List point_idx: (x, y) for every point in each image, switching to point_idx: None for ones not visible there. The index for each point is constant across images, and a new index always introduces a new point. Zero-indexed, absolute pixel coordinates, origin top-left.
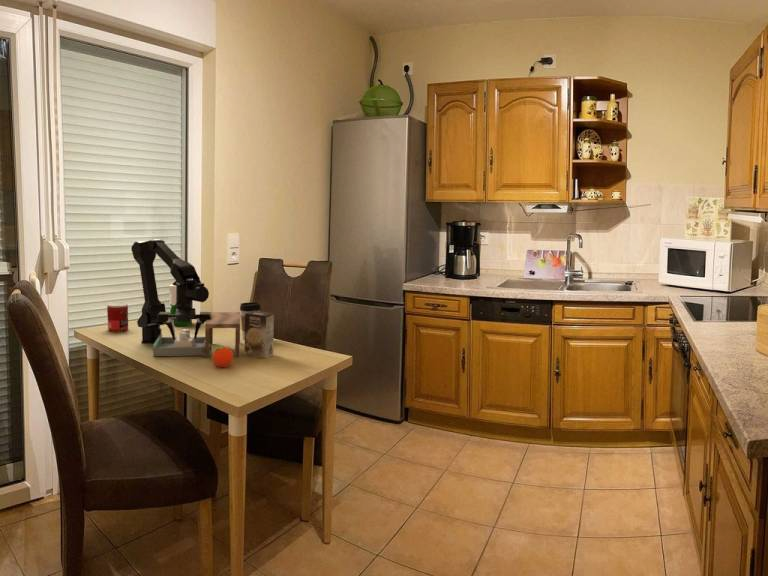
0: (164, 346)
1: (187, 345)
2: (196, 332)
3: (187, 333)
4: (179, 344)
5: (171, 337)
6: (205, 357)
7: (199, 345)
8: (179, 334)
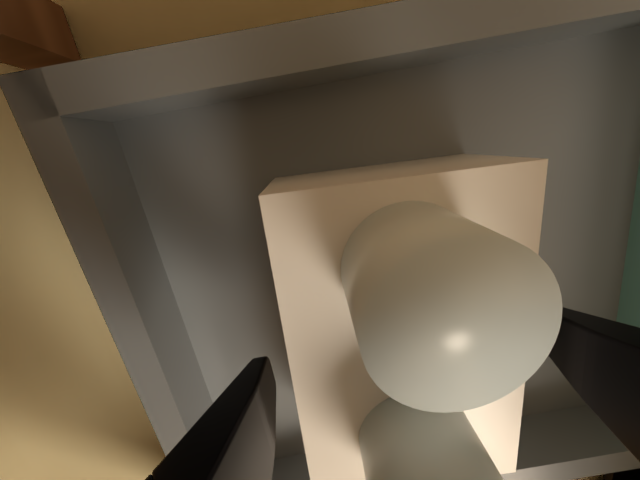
0: (578, 295)
1: (320, 177)
2: (196, 448)
3: (362, 321)
4: (435, 164)
5: (561, 469)
6: (56, 6)
7: None
8: (540, 272)
